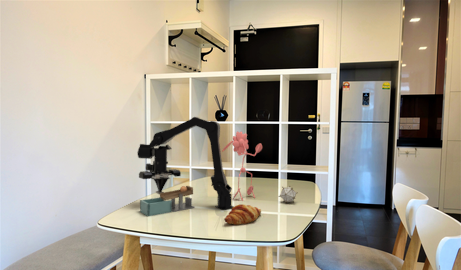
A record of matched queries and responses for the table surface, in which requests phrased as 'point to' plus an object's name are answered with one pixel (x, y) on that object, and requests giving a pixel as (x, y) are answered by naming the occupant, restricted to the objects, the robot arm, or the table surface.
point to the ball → (183, 189)
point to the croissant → (242, 214)
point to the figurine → (241, 147)
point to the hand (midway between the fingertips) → (160, 192)
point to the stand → (182, 204)
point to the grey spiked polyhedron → (288, 194)
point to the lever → (175, 193)
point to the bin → (155, 206)
